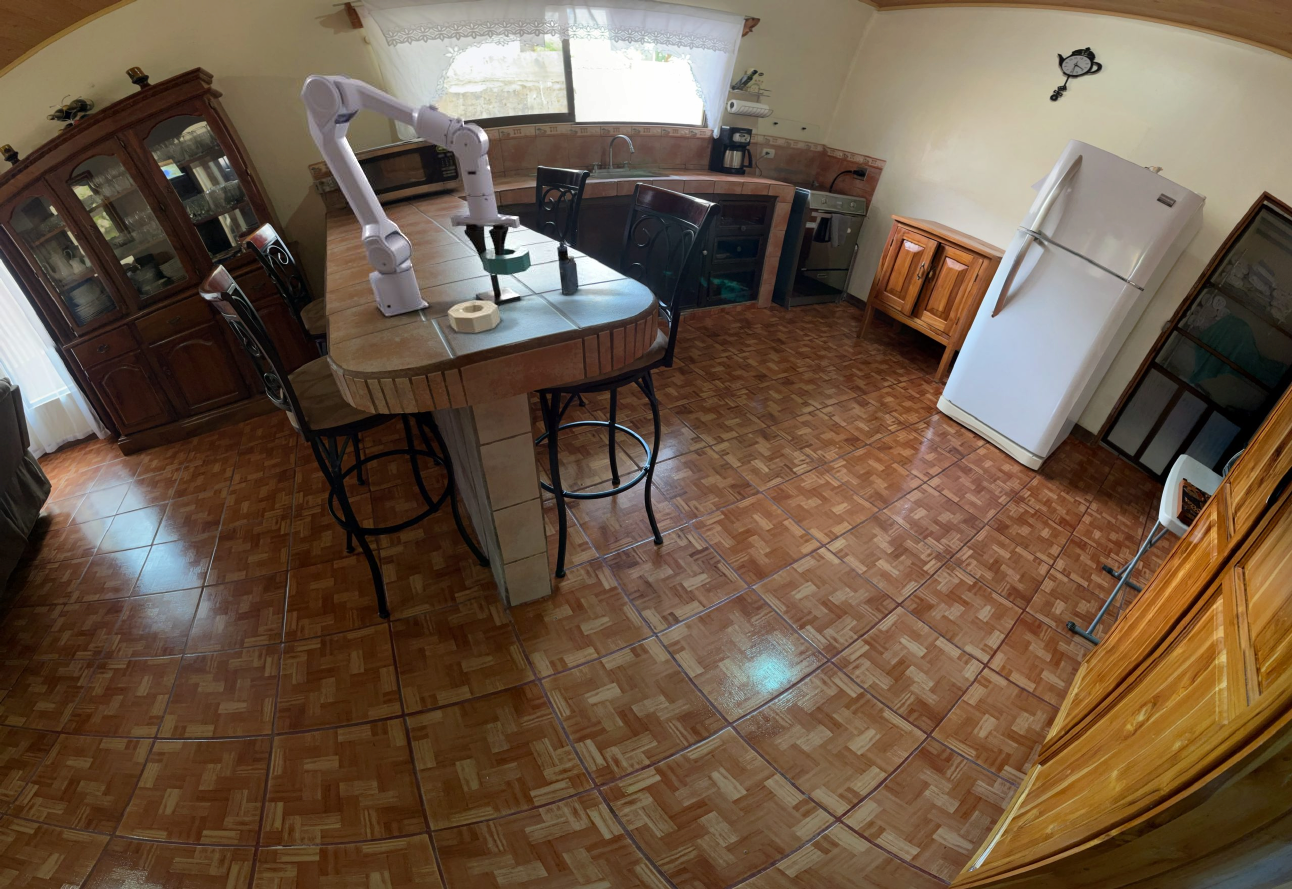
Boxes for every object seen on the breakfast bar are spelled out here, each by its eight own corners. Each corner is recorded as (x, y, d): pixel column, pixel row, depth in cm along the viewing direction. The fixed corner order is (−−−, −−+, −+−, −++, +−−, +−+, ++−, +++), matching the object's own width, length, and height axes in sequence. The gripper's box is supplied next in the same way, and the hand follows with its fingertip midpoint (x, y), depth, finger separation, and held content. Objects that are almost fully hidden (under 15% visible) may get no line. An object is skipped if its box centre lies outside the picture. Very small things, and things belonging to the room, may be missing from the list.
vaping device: (559, 294, 124) (553, 243, 117) (572, 287, 127) (566, 238, 120) (568, 296, 123) (563, 245, 116) (580, 289, 126) (575, 239, 119)
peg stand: (489, 307, 117) (484, 282, 114) (476, 298, 123) (470, 273, 119) (520, 299, 121) (516, 274, 118) (506, 290, 126) (502, 266, 123)
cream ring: (462, 336, 105) (458, 321, 103) (446, 322, 111) (442, 307, 109) (505, 325, 109) (502, 309, 107) (488, 311, 116) (485, 297, 113)
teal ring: (496, 277, 107) (492, 261, 105) (478, 266, 113) (475, 251, 111) (536, 268, 112) (534, 253, 110) (518, 258, 118) (515, 243, 116)
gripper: (520, 190, 106) (529, 256, 114) (455, 189, 108) (469, 254, 116) (508, 197, 101) (519, 266, 109) (440, 196, 102) (455, 264, 111)
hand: (492, 261), depth 112 cm, fingers closed on teal ring, 3 cm apart
